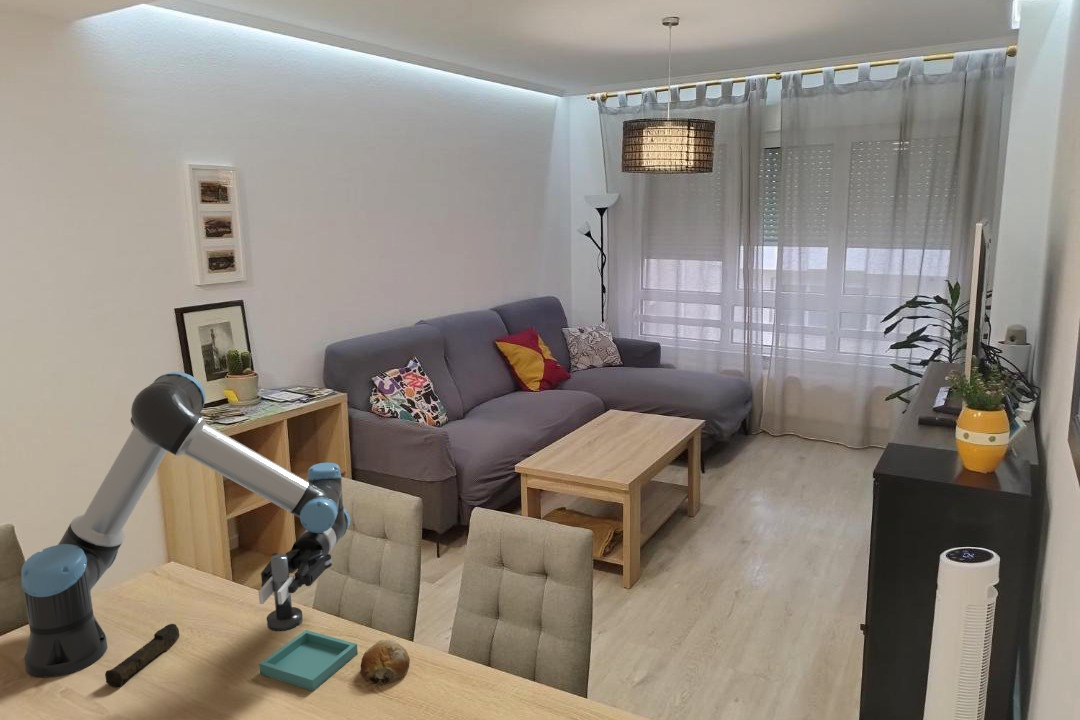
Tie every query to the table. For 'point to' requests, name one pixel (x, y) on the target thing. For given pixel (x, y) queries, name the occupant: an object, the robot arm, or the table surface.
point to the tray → (308, 659)
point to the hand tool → (143, 656)
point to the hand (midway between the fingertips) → (270, 597)
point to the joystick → (284, 613)
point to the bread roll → (384, 662)
